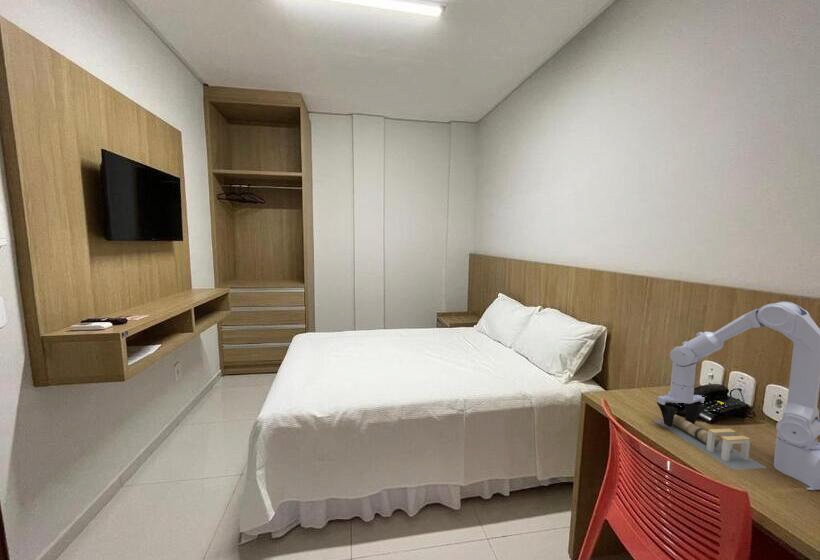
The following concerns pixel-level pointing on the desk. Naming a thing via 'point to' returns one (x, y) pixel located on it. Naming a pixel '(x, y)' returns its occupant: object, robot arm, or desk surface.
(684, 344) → the robot arm
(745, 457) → the peg gate board
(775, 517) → the desk surface
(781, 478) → the desk surface
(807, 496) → the desk surface
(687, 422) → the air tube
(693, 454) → the desk surface
